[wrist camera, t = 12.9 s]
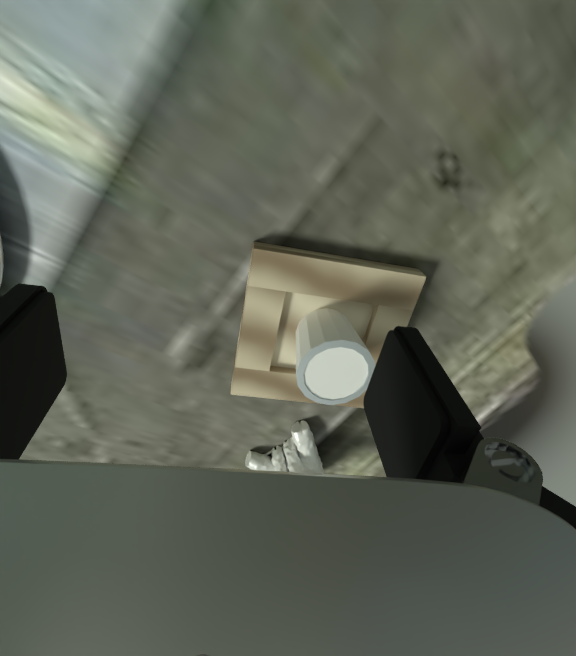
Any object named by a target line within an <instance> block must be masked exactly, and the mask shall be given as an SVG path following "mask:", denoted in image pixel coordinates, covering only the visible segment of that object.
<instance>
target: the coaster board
mask: <svg viewBox="0 0 576 656" xmlns="http://www.w3.org/2000/svg"><path fill="white" fill-rule="evenodd" d="M425 280H426V276H425V275H424V274H423V273H422V272H421V271H420V270H419V269H416V268H410V267H404V266H398V265H392V264H386V263H380V262H374V261H368V260H362V259H356V258H350V257H344V256H339V255H333V254H327V253H321V252H315V251H309V250H303V249H297V248H291V247H285V246H279V245H273V244H267V243H261V242H255V241H254V242H253V248H252V255H251V261H250V268H249V274H248V280H247V287H246V293H245V300H244V306H243V312H242V319H241V325H240V332H239V338H238V344H237V351H236V357H235V364H234V370H233V376H232V383H231V395H241V396H251V397H260V398H270V399H280V400H290V401H299V402H309V403H316V402H314V401H313V400H311V399H309V398H307V397H306V396H304V394H303V393H302V391H301V390H300V389H299V387H298V385H297V378H296V330H297V327H298V324H299V322H300V321H301V320H302V319H303V318H304V316H305V315H307V314H309V313H310V312H312V311H314V310H317V309H324V308H329V309H333V310H338V311H339V312H340V313H342V314H343V315H345V316H346V317H347V319H348V320H349V322H350V323H351V325H352V326H353V328H354V329H355V331H356V332H357V334H358V335H359V337H360V338H361V340H362V341H363V343H364V344H365V346H366V347H367V349H368V350H369V352H370V354H371V356H372V358H373V359H374V361H375V366H376V363H377V360H378V357H379V355H380V352H381V349H382V347H383V344H384V341H385V338H386V336H387V333H388V332H389V331H390V330H394V328H395V327H397V326H403V327H407V325H408V323H409V320H410V318H411V315H412V313H413V310H414V308H415V305H416V303H417V300H418V297H419V295H420V292H421V290H422V287H423V285H424V282H425ZM365 393H366V391H364V392H363V393H362V394H361V395H360V396H359V397H357V398H355V399H353V400H351V401H349V402H347V403H342V404H336V405H339V406H348V407H358V408H364V405H363V401H364V396H365ZM319 404H321V403H319Z"/></svg>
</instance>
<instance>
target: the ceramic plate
mask: <svg viewBox="0 0 576 656" xmlns="http://www.w3.org/2000/svg"><path fill="white" fill-rule="evenodd" d="M3 267H4V265H3V248H2V240H1V235H0V287H1V283H2V277H3Z"/></svg>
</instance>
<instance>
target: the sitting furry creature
mask: <svg viewBox="0 0 576 656" xmlns="http://www.w3.org/2000/svg"><path fill="white" fill-rule="evenodd" d="M291 433H292V437H291V438H289V439H287V441H286V442H285V441H284V444H283V446H282V447H280V446H276V450H275V449H274V447H273V448H272V450H270V451H269V452H267V453H266V454H260V453H257V452H255V451H254V452H252V451H249V453H247V457H246V461H245V465H246V466H247V467H248V468H250V469H251V470H263V471H283V472H302V473H320V474H323V470H324V469H323V468H322V464H323V463H322V462H321V460H320V457H319V456H318V452H317V447H316V445H315V443H314V437H313V433H312V432H311V431H310V427H309V425H308V424H307V422H306V421H300V422H298V421H297V422H296V423H294V424H293V425H292V428H291ZM282 448H283V450H282ZM270 453H272V457H270V456H267V455H269V454H270Z"/></svg>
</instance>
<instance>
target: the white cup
mask: <svg viewBox="0 0 576 656" xmlns="http://www.w3.org/2000/svg"><path fill="white" fill-rule="evenodd" d="M374 368H375V361H374V359H373V358H372V356H371V354H370V352H369V350H368V349H367V347H366V346H365V344H364V343H363V341H362V340H361V338H360V337H359V335H358V334H357V332H356V331H355V329H354V328H353V326H352V325H351V323H350V322H349V320H348V319H347V317H346V316H345V315H343V314H342V313H340V312H339V311H338V310H333V309H329V308H324V309H317V310H314V311H312V312H310V313H309V314H307V315H305V316H304V318H303V319H302V320H301V321H300V322H299V324H298V327H297V330H296V378H297V385H298V387H299V389H300V390H301V391H302V393H303V394H304V396H306V397H307V398H309V399H311V400H313V401H314V402H316V403H321V404H327V405H336V404H342V403H347V402H349V401H351V400H353V399H355V398H357V397H359V396H360V395H361V394H362V393H363V392H364V391H366V390H367V387H368V385H369V382H370V379H371V377H372V374H373V371H374Z"/></svg>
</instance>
